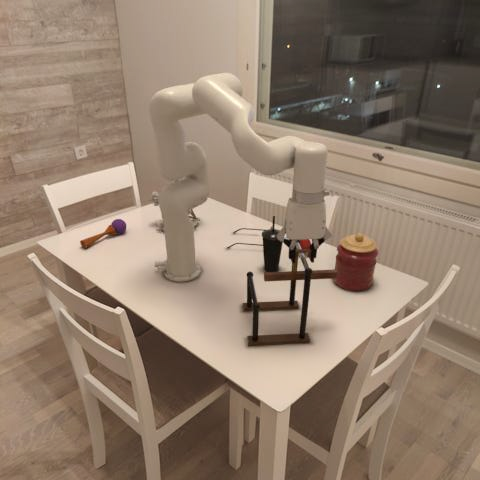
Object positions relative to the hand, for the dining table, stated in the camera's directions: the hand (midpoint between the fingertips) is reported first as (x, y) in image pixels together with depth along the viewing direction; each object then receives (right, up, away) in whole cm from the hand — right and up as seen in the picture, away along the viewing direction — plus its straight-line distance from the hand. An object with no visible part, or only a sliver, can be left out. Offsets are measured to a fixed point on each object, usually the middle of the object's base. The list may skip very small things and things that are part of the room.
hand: (301, 259), depth 119 cm
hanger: (0, -4, +3) cm, 5 cm away
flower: (-42, +17, +65) cm, 79 cm away
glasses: (-12, +10, +54) cm, 57 cm away
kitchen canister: (+21, -5, +31) cm, 38 cm away
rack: (-7, -18, +11) cm, 22 cm away
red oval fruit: (+7, +5, +46) cm, 47 cm away
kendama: (-69, +11, +56) cm, 90 cm away
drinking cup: (-5, -1, +37) cm, 38 cm away
